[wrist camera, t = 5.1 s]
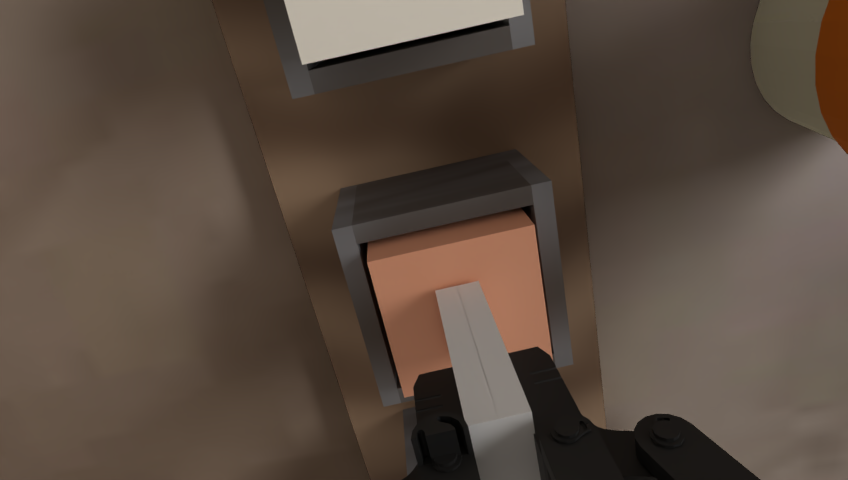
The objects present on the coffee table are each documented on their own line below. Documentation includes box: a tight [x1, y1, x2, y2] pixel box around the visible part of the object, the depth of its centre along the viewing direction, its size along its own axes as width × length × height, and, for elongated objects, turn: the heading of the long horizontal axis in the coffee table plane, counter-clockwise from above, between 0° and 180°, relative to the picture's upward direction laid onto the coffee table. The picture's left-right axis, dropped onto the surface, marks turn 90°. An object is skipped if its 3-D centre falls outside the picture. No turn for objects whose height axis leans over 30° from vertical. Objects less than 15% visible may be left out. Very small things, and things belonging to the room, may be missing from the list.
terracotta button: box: [367, 208, 553, 398], centre depth 21 cm, size 6×6×5 cm
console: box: [212, 0, 606, 480], centre depth 22 cm, size 38×13×6 cm, turn 12°
